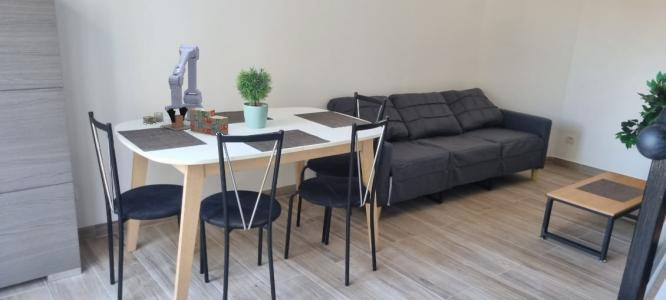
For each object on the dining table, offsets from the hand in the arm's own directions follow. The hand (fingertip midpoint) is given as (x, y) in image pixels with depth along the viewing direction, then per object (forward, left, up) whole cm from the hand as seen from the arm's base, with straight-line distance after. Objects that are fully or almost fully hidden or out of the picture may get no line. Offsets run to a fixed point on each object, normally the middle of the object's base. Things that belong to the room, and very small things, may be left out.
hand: (177, 121), depth 266 cm
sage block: (+6, -19, -3) cm, 20 cm away
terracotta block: (0, 0, -3) cm, 3 cm away
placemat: (0, 0, -3) cm, 3 cm away
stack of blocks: (-4, +22, -3) cm, 23 cm away
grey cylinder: (-1, -21, -3) cm, 21 cm away
